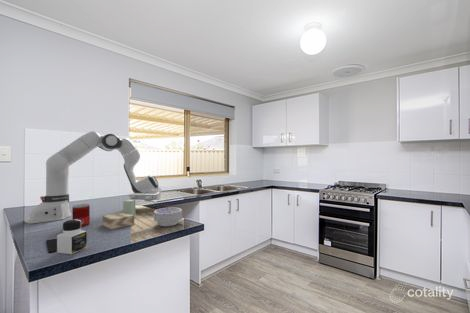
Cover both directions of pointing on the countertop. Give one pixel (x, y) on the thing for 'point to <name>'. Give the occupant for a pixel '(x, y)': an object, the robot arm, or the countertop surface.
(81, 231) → the medicine bottle
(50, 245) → the cell phone
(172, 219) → the paper bowls
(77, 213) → the canned food
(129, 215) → the wooden base
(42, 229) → the countertop surface
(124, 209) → the sage green post
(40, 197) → the robot arm
